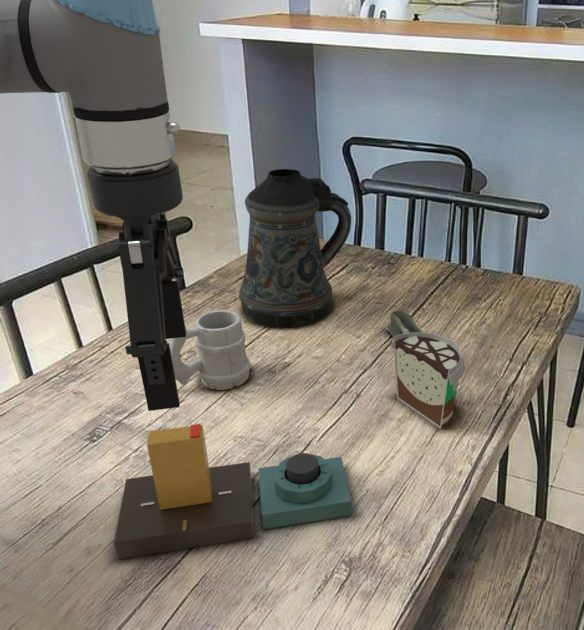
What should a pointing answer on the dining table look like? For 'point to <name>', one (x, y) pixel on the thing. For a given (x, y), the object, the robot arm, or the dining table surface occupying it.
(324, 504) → the push button box
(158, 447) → the lock knob
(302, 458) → the bell button
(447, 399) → the food container
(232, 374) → the mug
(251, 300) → the beer stein
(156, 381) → the robot arm
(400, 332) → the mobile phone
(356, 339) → the dining table surface
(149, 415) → the dining table surface
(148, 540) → the lock plate
